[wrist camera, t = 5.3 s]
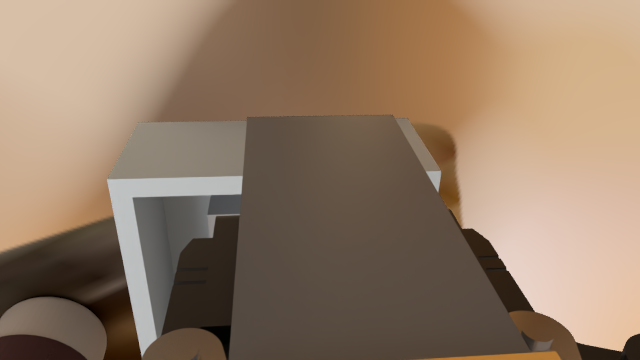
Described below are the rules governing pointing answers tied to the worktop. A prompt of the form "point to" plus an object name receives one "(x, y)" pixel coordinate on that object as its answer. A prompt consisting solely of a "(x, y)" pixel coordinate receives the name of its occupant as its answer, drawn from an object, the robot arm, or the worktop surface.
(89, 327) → the coffee cup
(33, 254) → the worktop surface
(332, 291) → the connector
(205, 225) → the walled box
